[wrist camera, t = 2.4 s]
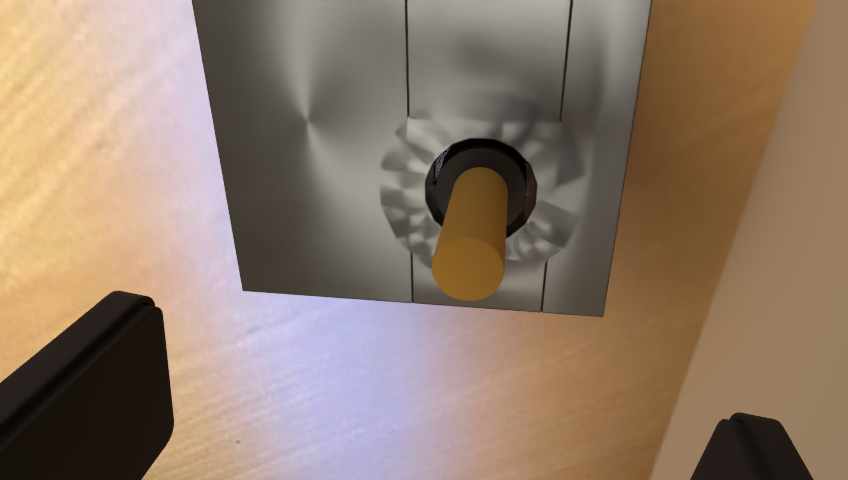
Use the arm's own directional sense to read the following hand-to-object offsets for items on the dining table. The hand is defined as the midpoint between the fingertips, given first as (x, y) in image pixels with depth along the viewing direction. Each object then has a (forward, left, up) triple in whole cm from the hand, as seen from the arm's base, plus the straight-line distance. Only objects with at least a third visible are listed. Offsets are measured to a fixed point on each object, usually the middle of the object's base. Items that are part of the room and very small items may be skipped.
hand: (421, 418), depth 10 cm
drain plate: (+3, -1, -19) cm, 19 cm away
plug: (0, +2, -19) cm, 19 cm away
